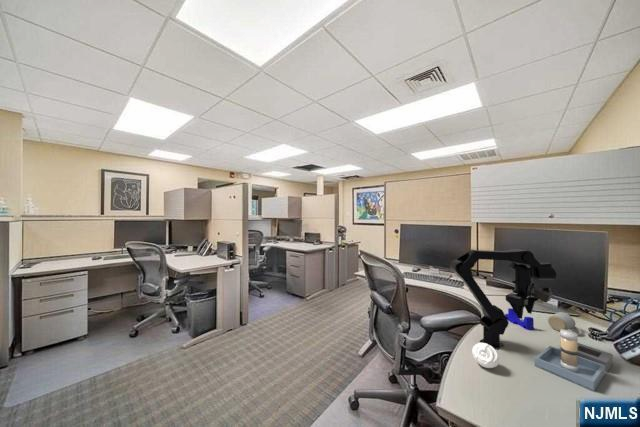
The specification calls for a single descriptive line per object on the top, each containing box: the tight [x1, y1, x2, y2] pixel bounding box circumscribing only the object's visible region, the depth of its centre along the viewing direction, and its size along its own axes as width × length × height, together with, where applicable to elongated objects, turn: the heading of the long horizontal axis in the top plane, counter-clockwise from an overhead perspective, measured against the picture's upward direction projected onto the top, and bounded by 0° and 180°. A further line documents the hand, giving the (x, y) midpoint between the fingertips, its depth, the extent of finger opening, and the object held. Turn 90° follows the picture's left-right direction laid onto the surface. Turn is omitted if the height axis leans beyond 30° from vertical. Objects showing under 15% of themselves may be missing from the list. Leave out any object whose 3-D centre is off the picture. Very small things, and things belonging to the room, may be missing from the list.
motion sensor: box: [471, 342, 500, 369], centre depth 82 cm, size 8×8×8 cm
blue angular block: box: [504, 307, 535, 331], centre depth 115 cm, size 12×4×6 cm, turn 176°
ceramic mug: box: [547, 311, 583, 337], centre depth 109 cm, size 11×8×8 cm
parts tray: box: [534, 345, 607, 392], centre depth 80 cm, size 16×14×3 cm
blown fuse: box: [559, 329, 579, 373], centre depth 80 cm, size 4×4×13 cm
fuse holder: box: [577, 342, 614, 373], centre depth 86 cm, size 10×10×4 cm
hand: (525, 315), depth 95 cm, fingers open, 9 cm apart
